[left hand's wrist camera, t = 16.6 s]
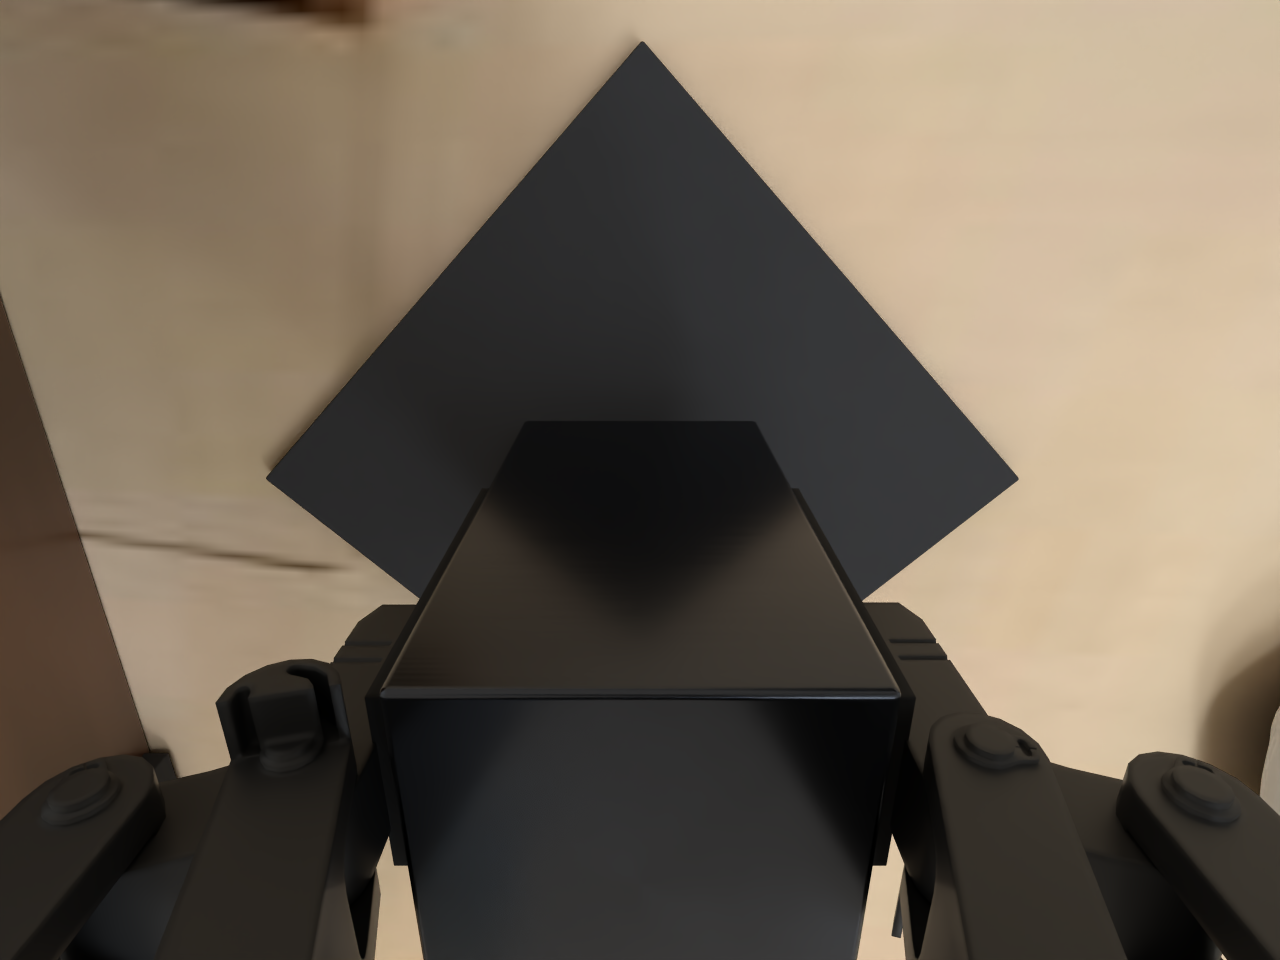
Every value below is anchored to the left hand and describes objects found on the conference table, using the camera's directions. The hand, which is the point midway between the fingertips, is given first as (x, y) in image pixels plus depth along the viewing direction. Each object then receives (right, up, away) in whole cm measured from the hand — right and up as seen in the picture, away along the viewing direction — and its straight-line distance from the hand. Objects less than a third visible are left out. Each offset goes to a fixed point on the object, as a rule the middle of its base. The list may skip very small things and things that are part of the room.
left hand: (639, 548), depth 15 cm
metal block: (0, 0, +1) cm, 1 cm away
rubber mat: (0, +2, +4) cm, 4 cm away
